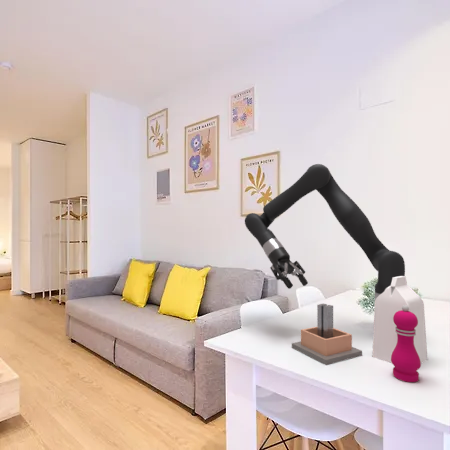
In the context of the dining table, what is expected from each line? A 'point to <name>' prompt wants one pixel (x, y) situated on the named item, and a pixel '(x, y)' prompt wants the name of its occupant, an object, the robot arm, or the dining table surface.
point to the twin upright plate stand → (325, 321)
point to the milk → (385, 325)
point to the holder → (326, 346)
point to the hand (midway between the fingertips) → (298, 286)
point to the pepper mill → (405, 347)
